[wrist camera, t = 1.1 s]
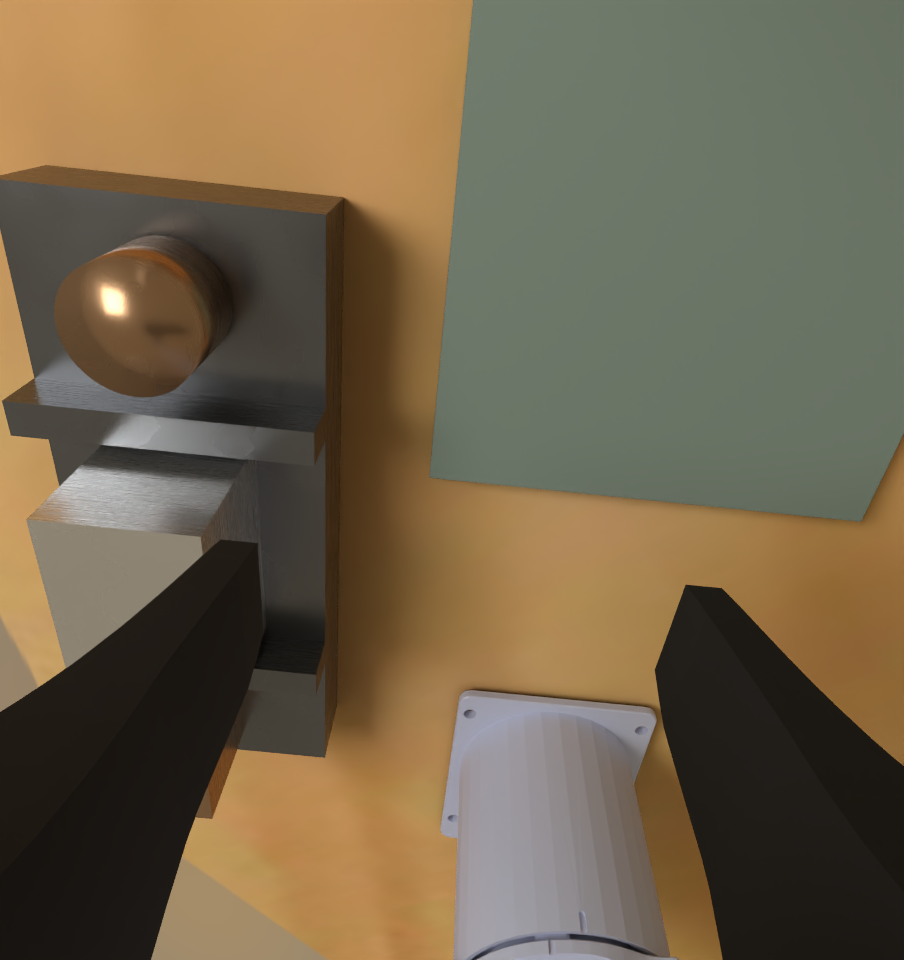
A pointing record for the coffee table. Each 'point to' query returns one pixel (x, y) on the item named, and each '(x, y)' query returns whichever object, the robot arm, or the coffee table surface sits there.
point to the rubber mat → (679, 253)
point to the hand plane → (200, 382)
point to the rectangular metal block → (135, 533)
